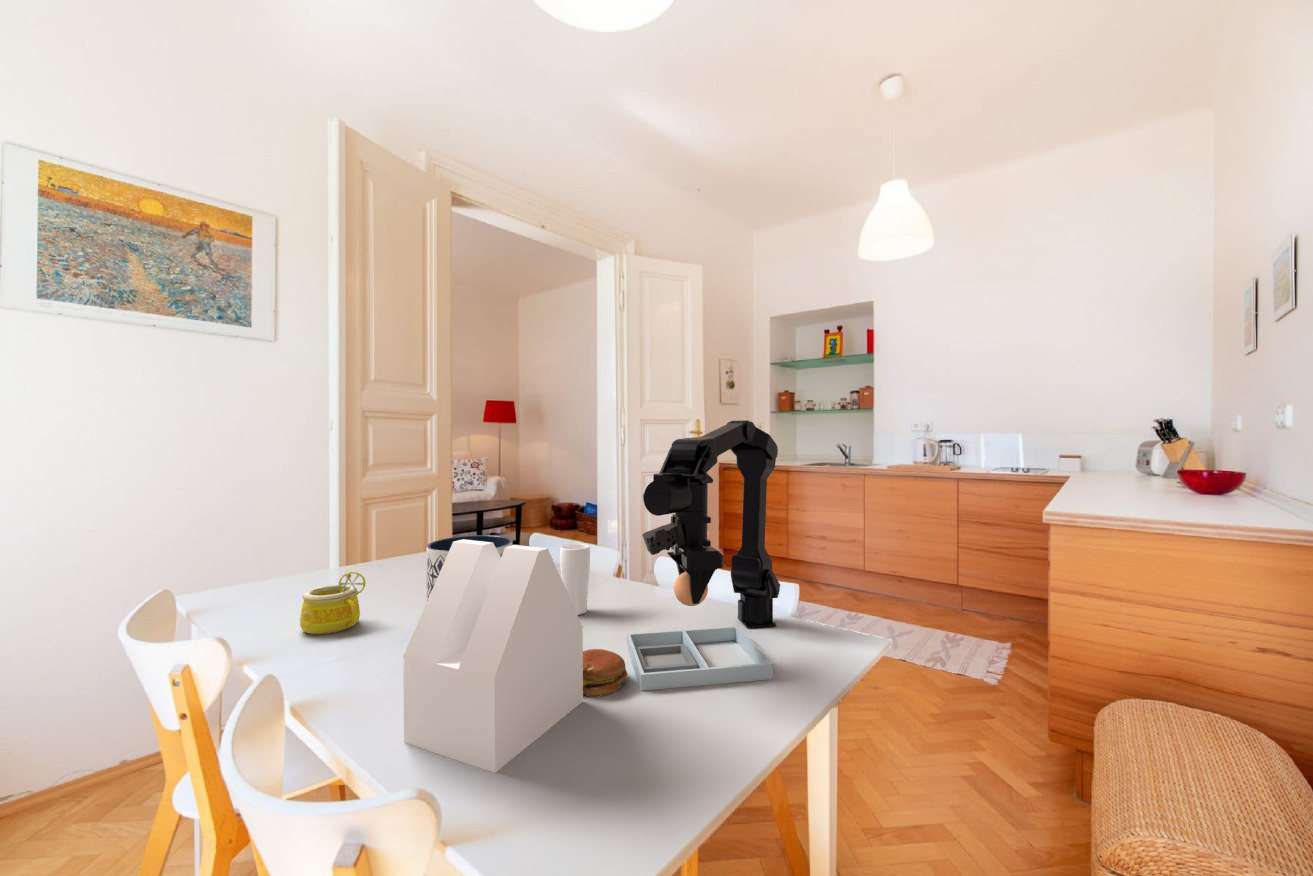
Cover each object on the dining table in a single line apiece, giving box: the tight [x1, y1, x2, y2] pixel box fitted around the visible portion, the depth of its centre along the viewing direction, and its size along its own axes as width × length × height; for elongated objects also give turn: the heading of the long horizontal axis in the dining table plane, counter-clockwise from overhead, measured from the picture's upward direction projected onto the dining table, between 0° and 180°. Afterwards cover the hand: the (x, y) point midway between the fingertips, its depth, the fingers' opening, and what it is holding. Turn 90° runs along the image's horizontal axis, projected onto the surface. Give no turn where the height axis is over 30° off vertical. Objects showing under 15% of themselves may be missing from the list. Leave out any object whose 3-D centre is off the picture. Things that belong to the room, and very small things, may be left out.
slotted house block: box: [403, 539, 584, 774], centre depth 77 cm, size 19×15×25 cm
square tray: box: [635, 643, 698, 673], centre depth 95 cm, size 10×10×2 cm
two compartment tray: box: [626, 625, 774, 692], centre depth 96 cm, size 22×18×2 cm
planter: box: [426, 534, 514, 602], centre depth 121 cm, size 18×18×16 cm
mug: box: [299, 571, 367, 635], centre depth 113 cm, size 13×11×12 cm
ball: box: [673, 572, 709, 607], centre depth 96 cm, size 6×6×6 cm
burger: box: [583, 648, 628, 697], centre depth 88 cm, size 10×9×5 cm
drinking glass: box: [559, 543, 591, 616], centre depth 123 cm, size 7×7×15 cm
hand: (690, 598), depth 96 cm, fingers closed on ball, 6 cm apart
